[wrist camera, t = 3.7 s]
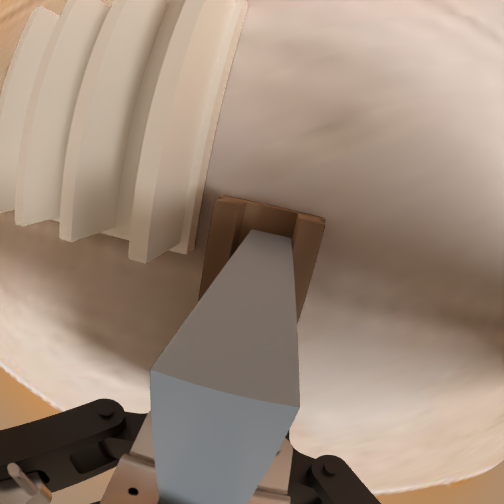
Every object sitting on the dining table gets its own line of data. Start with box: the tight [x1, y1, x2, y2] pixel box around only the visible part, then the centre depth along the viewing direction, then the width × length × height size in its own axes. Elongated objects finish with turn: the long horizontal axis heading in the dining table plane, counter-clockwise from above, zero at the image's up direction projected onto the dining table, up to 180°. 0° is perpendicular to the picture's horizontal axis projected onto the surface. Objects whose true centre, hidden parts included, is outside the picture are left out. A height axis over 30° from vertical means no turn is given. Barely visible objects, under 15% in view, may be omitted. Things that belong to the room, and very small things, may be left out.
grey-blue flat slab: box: [150, 229, 300, 504], centre depth 9 cm, size 2×12×10 cm, turn 167°
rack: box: [0, 0, 248, 264], centre depth 11 cm, size 13×14×5 cm
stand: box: [198, 195, 325, 323], centre depth 14 cm, size 5×14×3 cm, turn 168°
